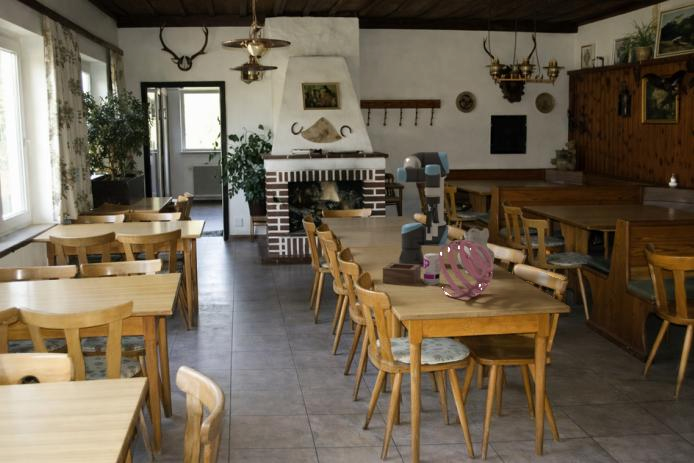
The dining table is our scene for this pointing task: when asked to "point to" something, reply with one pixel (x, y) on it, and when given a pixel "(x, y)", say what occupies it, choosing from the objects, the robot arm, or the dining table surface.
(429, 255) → the supplement can
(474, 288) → the spiral basket
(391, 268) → the dark wooden box
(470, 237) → the grey rounded figure
